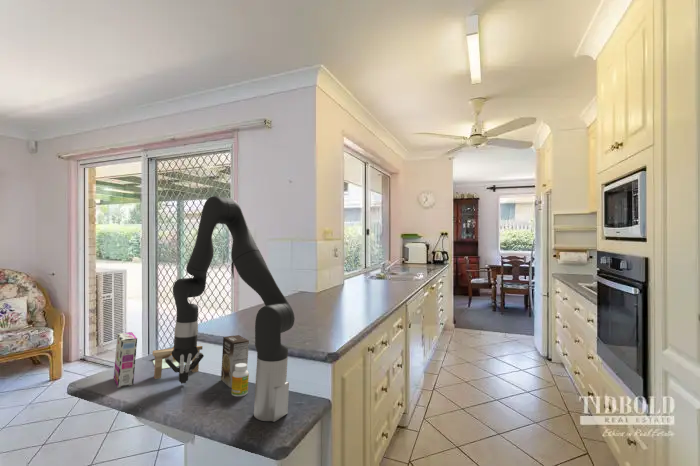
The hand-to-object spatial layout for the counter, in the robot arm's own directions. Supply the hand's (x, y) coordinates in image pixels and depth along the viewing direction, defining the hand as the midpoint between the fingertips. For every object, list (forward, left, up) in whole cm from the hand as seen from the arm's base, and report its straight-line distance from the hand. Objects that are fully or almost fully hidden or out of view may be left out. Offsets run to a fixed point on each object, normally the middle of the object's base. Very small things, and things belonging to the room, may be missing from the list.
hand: (183, 382), depth 119 cm
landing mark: (+24, -11, -1) cm, 27 cm away
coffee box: (-12, -12, -1) cm, 17 cm away
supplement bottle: (-21, -6, -1) cm, 22 cm away
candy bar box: (+20, +10, -1) cm, 22 cm away
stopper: (+31, -15, -1) cm, 34 cm away
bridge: (+11, -5, -1) cm, 13 cm away
